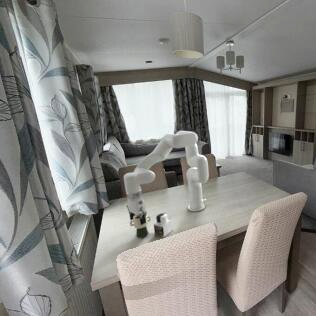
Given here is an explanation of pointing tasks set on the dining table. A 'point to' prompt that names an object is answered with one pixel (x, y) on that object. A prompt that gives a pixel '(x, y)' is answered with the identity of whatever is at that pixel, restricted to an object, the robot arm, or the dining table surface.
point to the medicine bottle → (162, 225)
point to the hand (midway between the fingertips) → (138, 221)
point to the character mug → (140, 226)
